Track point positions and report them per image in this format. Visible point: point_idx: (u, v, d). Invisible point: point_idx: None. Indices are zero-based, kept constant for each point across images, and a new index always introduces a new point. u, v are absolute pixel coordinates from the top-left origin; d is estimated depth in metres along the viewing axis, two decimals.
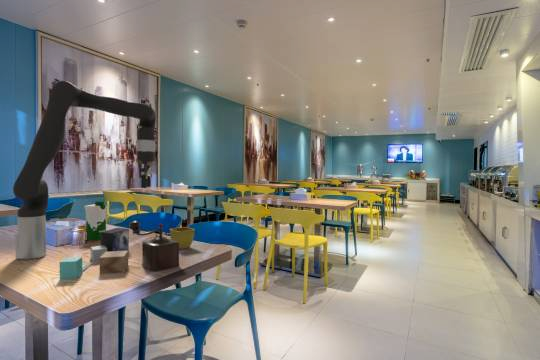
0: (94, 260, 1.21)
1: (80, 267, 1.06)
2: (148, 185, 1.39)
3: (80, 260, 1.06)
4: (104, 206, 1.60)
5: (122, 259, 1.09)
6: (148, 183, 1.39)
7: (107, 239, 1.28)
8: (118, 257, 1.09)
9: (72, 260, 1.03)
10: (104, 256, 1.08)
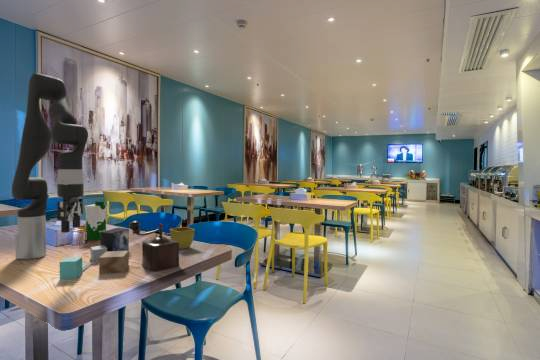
0: (94, 260, 1.21)
1: (80, 267, 1.06)
2: (77, 225, 1.08)
3: (80, 260, 1.06)
4: (104, 206, 1.60)
5: (121, 259, 1.09)
6: (77, 223, 1.08)
7: (107, 239, 1.28)
8: (117, 257, 1.09)
9: (72, 260, 1.03)
10: (103, 256, 1.09)
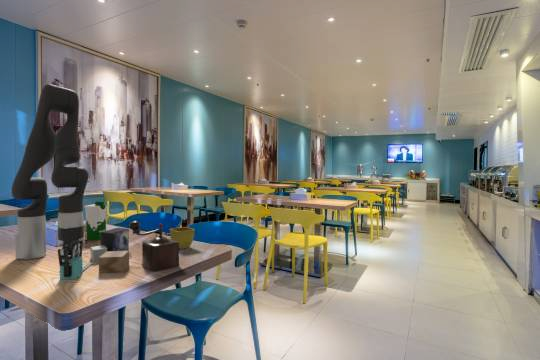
0: (94, 260, 1.21)
1: (80, 267, 1.06)
2: None
3: (80, 260, 1.06)
4: (104, 206, 1.60)
5: (121, 259, 1.09)
6: None
7: (107, 239, 1.28)
8: (117, 257, 1.09)
9: (72, 260, 1.03)
10: (103, 256, 1.09)
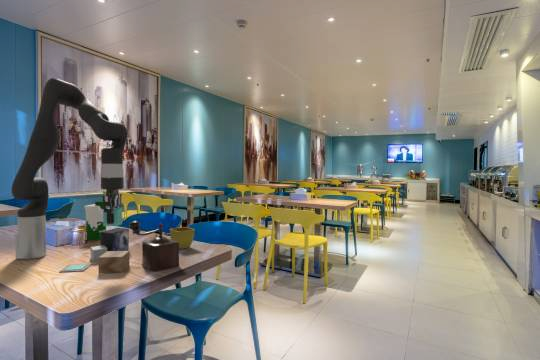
0: (94, 260, 1.21)
1: (120, 216, 1.13)
2: None
3: (120, 210, 1.13)
4: None
5: (120, 260, 1.09)
6: None
7: (107, 239, 1.28)
8: (116, 257, 1.08)
9: (114, 208, 1.10)
10: (103, 256, 1.09)
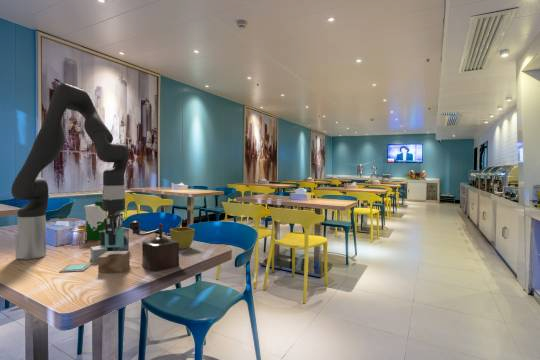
0: (94, 260, 1.21)
1: (122, 237, 1.14)
2: None
3: (122, 230, 1.14)
4: None
5: (120, 260, 1.08)
6: None
7: None
8: (116, 257, 1.08)
9: (116, 230, 1.11)
10: (103, 256, 1.09)
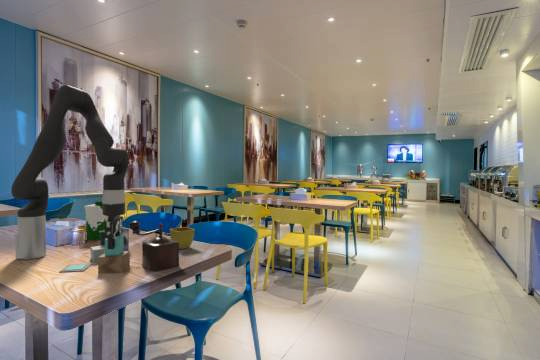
0: (94, 260, 1.21)
1: (122, 245, 1.14)
2: None
3: (122, 238, 1.14)
4: None
5: (119, 260, 1.08)
6: None
7: None
8: (116, 257, 1.08)
9: (116, 238, 1.11)
10: (103, 256, 1.09)
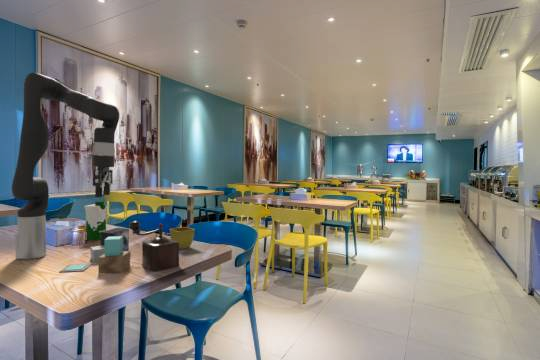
0: (94, 260, 1.21)
1: (121, 245, 1.14)
2: (107, 193, 1.23)
3: (121, 239, 1.14)
4: (104, 206, 1.60)
5: (120, 260, 1.08)
6: (107, 191, 1.23)
7: None
8: (116, 258, 1.08)
9: (115, 238, 1.11)
10: (103, 256, 1.09)
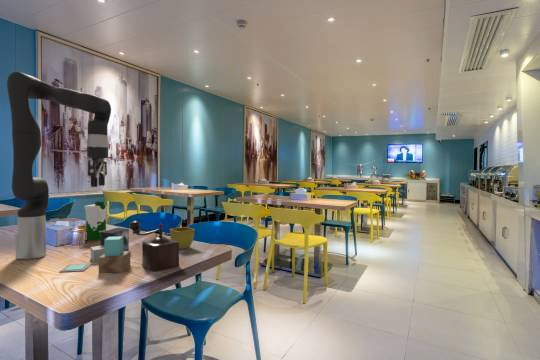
0: (94, 260, 1.21)
1: (122, 246, 1.13)
2: (102, 184, 1.27)
3: (122, 239, 1.13)
4: (104, 206, 1.60)
5: (120, 260, 1.08)
6: (102, 182, 1.27)
7: None
8: (116, 258, 1.08)
9: (115, 238, 1.10)
10: (103, 256, 1.09)
